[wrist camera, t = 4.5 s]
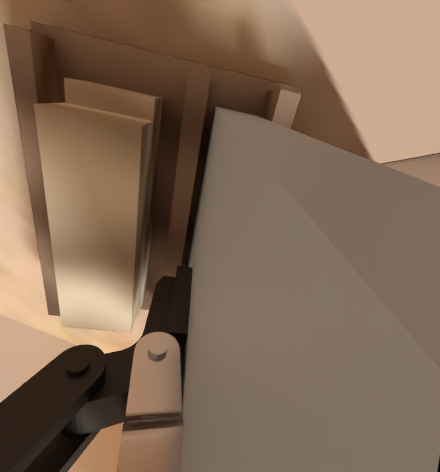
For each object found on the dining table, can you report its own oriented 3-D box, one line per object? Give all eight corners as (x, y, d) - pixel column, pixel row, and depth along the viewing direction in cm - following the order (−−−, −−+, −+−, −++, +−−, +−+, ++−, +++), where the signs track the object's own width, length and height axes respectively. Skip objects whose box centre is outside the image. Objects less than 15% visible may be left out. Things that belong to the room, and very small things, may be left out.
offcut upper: (65, 102, 12) (33, 103, 10) (153, 121, 12) (142, 126, 10) (79, 297, 17) (61, 326, 15) (140, 304, 18) (130, 333, 16)
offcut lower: (86, 81, 13) (63, 77, 11) (162, 98, 14) (154, 97, 12) (94, 285, 20) (80, 308, 18) (146, 291, 20) (139, 314, 18)
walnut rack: (47, 28, 14) (-18, 0, 10) (293, 89, 15) (324, 86, 12) (71, 288, 22) (41, 330, 18) (229, 306, 24) (234, 348, 20)
